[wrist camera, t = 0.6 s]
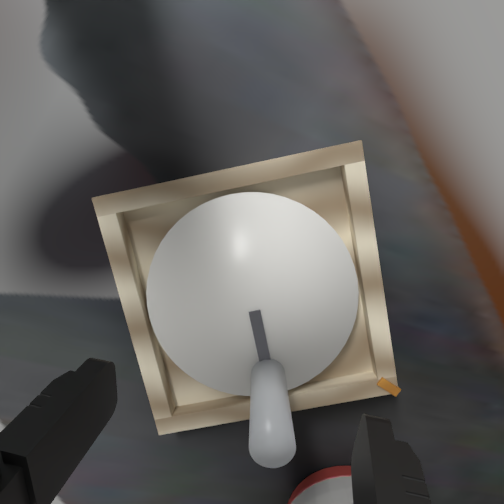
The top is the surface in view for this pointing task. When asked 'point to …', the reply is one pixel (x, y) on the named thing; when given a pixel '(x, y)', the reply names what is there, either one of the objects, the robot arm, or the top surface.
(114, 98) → the top surface
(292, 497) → the citrus juicer
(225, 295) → the dial
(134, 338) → the dial housing
